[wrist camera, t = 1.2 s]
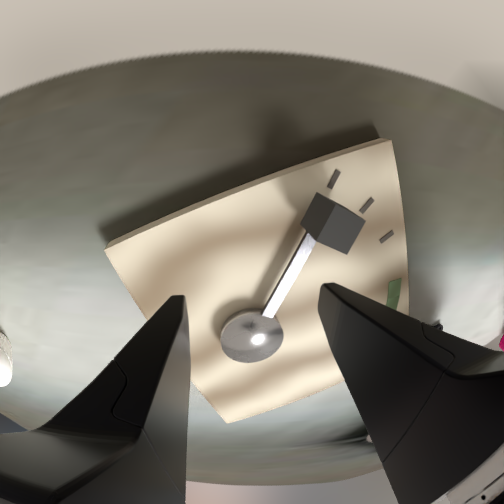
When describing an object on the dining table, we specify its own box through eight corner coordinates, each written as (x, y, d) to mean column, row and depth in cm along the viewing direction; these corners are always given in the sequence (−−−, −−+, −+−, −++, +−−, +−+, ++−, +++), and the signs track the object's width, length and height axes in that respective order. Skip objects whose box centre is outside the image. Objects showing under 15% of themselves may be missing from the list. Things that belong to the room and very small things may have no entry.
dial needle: (263, 359, 25) (273, 391, 22) (210, 347, 24) (214, 381, 20) (352, 210, 21) (380, 228, 17) (296, 181, 19) (317, 194, 16)
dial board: (401, 340, 31) (408, 349, 29) (225, 413, 31) (227, 424, 29) (380, 138, 21) (391, 140, 19) (109, 241, 20) (103, 250, 19)
